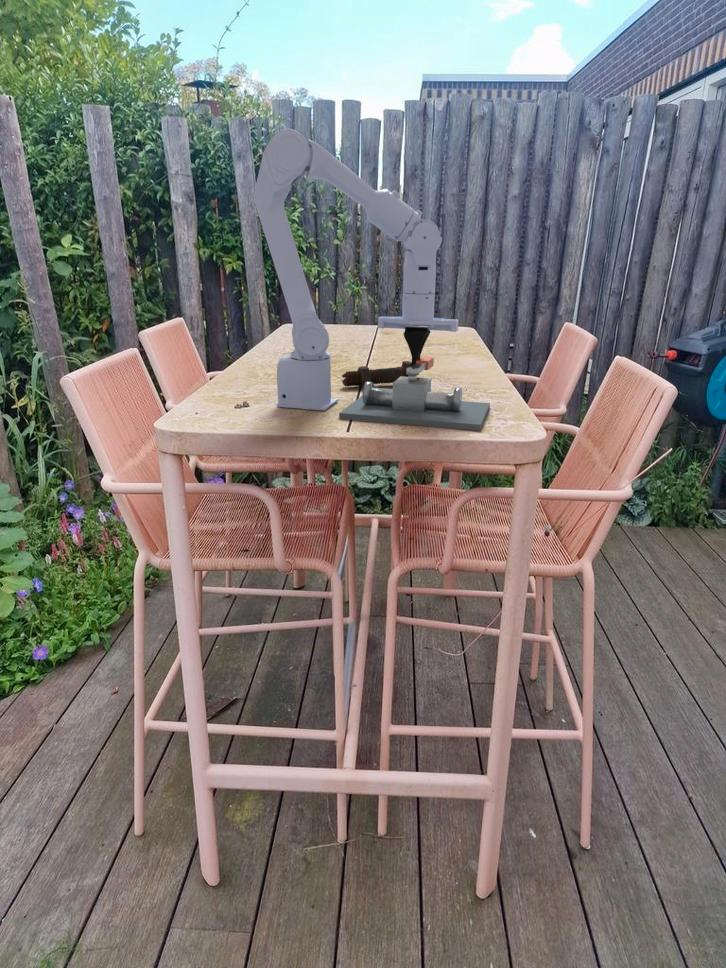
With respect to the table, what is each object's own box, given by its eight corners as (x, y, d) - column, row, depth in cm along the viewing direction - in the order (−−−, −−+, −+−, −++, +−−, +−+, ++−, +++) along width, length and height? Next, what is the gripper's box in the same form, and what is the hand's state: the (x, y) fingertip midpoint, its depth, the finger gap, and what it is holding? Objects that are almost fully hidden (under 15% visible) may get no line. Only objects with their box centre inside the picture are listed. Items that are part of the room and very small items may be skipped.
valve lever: (417, 377, 102) (417, 368, 101) (404, 376, 102) (405, 367, 102) (433, 366, 112) (433, 357, 111) (422, 365, 113) (422, 356, 112)
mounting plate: (339, 418, 102) (339, 412, 101) (364, 398, 115) (364, 393, 115) (480, 430, 95) (480, 424, 95) (489, 408, 109) (490, 403, 108)
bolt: (343, 396, 126) (410, 390, 129) (347, 389, 121) (417, 383, 124) (339, 370, 126) (406, 364, 130) (343, 361, 122) (412, 356, 125)
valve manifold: (361, 407, 105) (361, 374, 103) (370, 400, 110) (370, 369, 108) (457, 415, 100) (459, 381, 98) (461, 407, 105) (463, 374, 103)
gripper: (373, 293, 104) (372, 370, 109) (455, 295, 100) (450, 376, 105) (384, 290, 110) (383, 364, 115) (462, 293, 106) (457, 368, 111)
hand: (415, 369), depth 111 cm, fingers closed, pressing on valve lever
